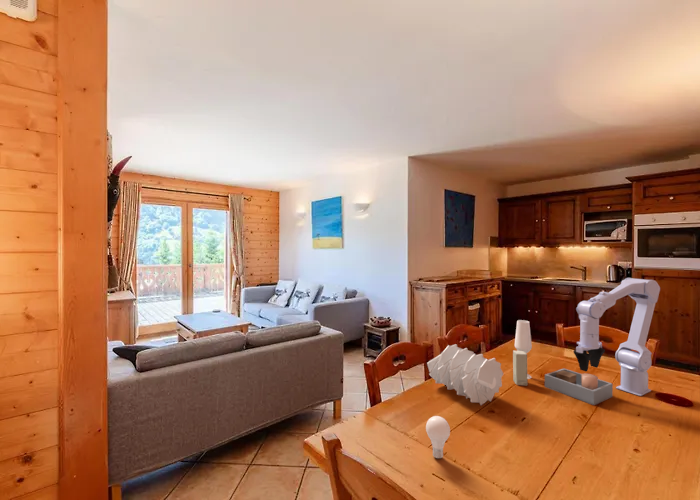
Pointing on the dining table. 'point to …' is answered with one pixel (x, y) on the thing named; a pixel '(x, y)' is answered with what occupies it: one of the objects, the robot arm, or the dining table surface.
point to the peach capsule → (589, 381)
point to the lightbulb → (437, 434)
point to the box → (520, 367)
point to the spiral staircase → (467, 373)
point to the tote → (579, 388)
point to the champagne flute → (523, 338)
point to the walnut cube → (566, 376)
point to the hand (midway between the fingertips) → (589, 368)
